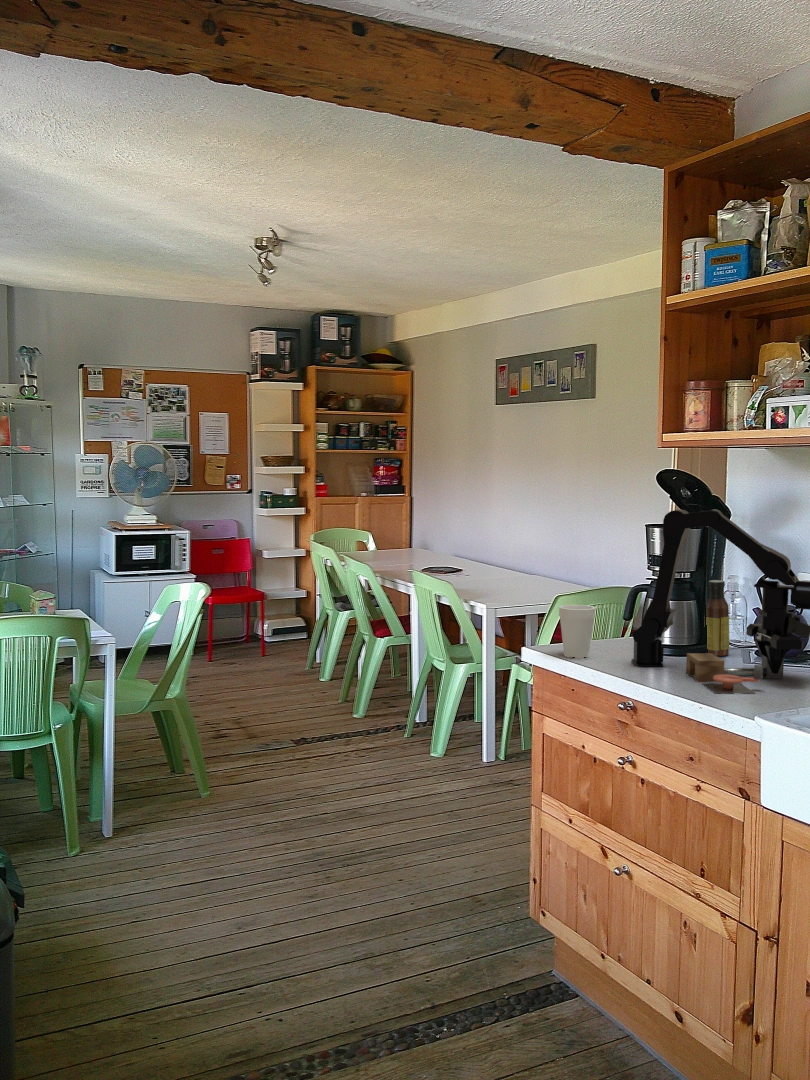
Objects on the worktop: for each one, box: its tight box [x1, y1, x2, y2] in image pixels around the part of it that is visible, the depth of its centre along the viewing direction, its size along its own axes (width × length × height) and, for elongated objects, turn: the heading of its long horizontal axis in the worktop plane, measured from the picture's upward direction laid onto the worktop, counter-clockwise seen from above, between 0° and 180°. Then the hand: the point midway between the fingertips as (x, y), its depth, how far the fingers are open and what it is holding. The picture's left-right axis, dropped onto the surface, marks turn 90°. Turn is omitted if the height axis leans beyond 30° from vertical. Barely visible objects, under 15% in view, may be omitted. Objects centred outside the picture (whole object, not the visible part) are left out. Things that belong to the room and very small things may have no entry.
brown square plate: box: [700, 682, 756, 695], centre depth 211 cm, size 9×9×1 cm
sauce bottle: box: [706, 579, 730, 657], centre depth 248 cm, size 7×6×20 cm
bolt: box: [724, 655, 785, 679], centre depth 222 cm, size 17×3×5 cm, turn 91°
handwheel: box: [713, 664, 764, 689], centre depth 210 cm, size 11×6×5 cm, turn 82°
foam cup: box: [558, 604, 596, 659], centre depth 246 cm, size 10×9×13 cm
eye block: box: [685, 652, 725, 683], centre depth 222 cm, size 6×9×5 cm
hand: (772, 671), depth 222 cm, fingers closed on bolt, 3 cm apart
